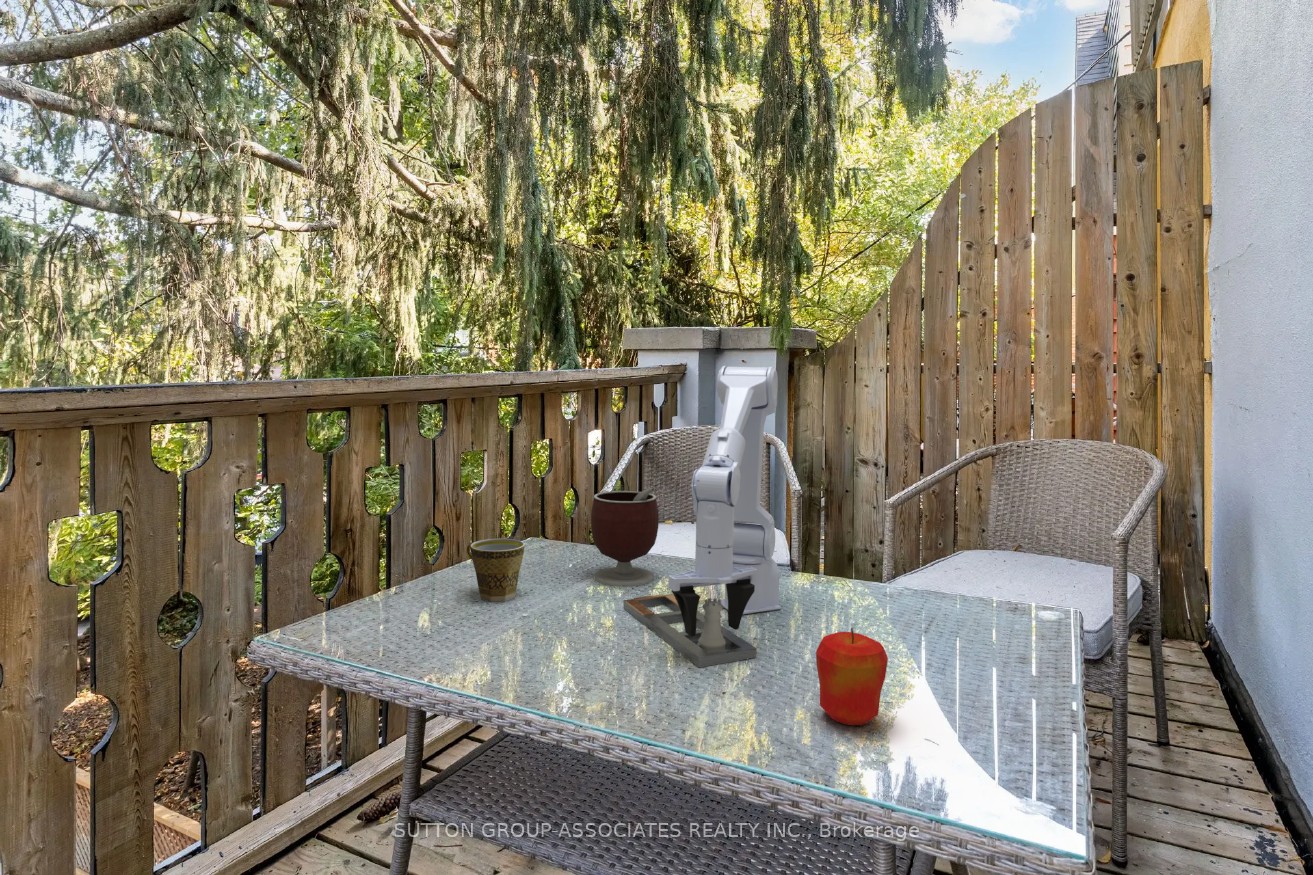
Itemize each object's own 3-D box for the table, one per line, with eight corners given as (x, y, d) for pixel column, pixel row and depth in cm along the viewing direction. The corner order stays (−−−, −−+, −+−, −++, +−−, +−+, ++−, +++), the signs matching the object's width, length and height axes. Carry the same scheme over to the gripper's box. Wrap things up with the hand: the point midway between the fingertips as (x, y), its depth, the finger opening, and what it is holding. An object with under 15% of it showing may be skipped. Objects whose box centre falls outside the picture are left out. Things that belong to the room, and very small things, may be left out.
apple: (809, 726, 92) (812, 633, 91) (819, 699, 100) (823, 612, 99) (881, 740, 89) (886, 644, 88) (887, 710, 97) (891, 621, 96)
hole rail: (672, 602, 140) (672, 593, 140) (756, 657, 114) (756, 646, 114) (623, 608, 136) (623, 599, 136) (699, 667, 110) (699, 656, 110)
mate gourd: (576, 576, 156) (577, 481, 154) (627, 565, 166) (629, 475, 164) (625, 593, 145) (626, 491, 143) (676, 580, 154) (678, 484, 152)
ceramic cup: (535, 594, 143) (535, 543, 142) (498, 608, 135) (498, 553, 134) (486, 583, 150) (486, 534, 149) (447, 595, 142) (447, 543, 141)
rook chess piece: (717, 658, 114) (719, 607, 113) (692, 652, 116) (693, 601, 115) (731, 649, 117) (732, 599, 117) (705, 643, 120) (706, 594, 119)
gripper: (684, 554, 108) (681, 645, 110) (769, 546, 114) (766, 632, 116) (662, 543, 115) (661, 630, 116) (744, 536, 121) (742, 618, 122)
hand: (712, 630), depth 116 cm, fingers open, 7 cm apart
